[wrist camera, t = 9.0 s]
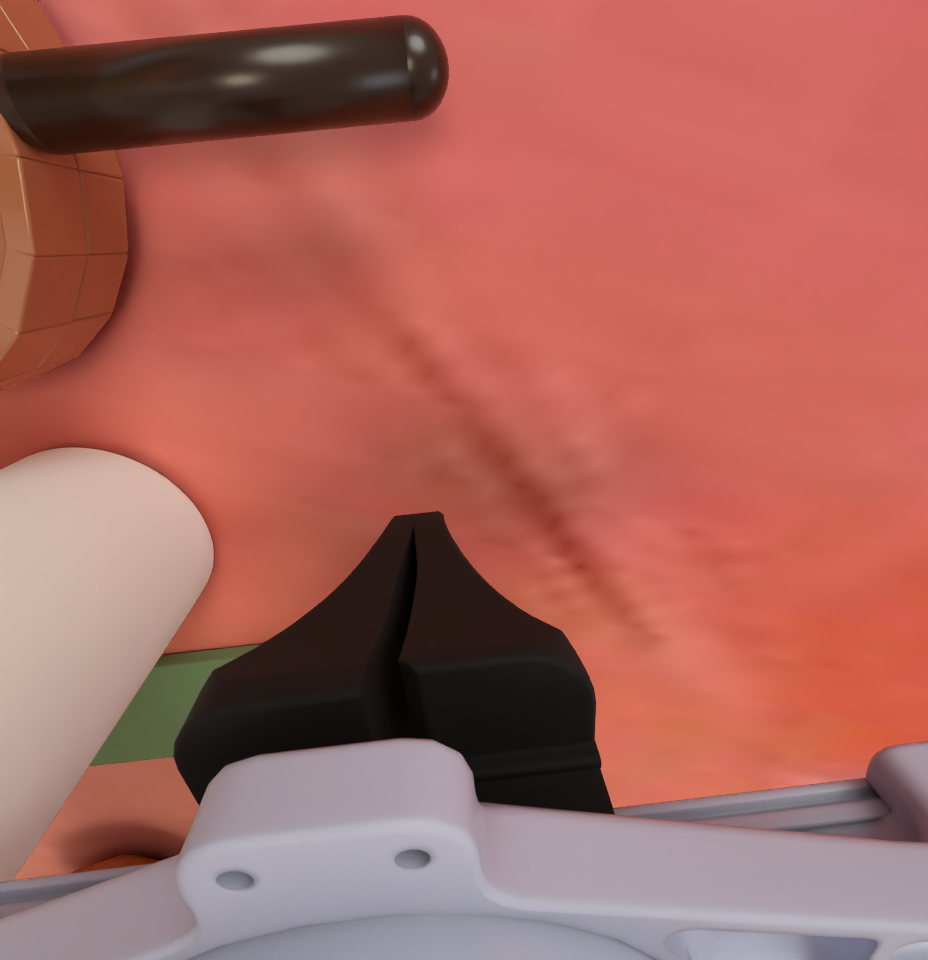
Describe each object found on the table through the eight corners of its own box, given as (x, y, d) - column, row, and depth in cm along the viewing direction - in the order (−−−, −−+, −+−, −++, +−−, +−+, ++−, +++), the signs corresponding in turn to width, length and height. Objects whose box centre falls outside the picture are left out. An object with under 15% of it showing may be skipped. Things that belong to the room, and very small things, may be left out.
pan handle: (451, 125, 9) (454, 106, 8) (48, 164, 9) (-13, 151, 8) (443, 29, 9) (445, -6, 7) (11, 71, 9) (-62, 41, 7)
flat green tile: (335, 725, 20) (332, 738, 20) (49, 758, 20) (39, 772, 19) (306, 638, 18) (302, 650, 17) (-15, 674, 18) (-29, 687, 17)
